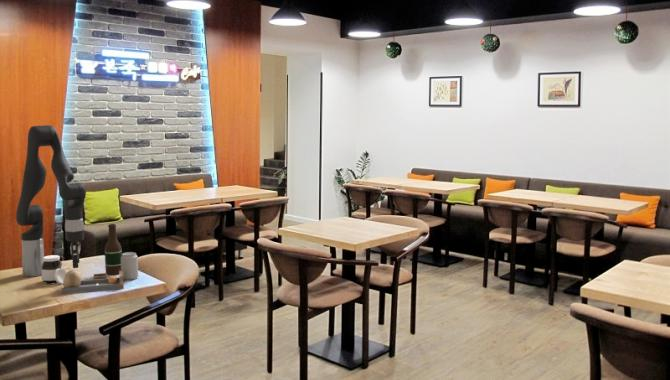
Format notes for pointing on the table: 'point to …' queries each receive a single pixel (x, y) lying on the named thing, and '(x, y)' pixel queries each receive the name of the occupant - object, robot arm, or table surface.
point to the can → (129, 265)
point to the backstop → (121, 279)
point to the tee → (100, 276)
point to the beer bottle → (112, 252)
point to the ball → (112, 280)
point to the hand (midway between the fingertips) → (76, 265)
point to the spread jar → (52, 270)
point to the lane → (92, 286)
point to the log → (72, 279)
